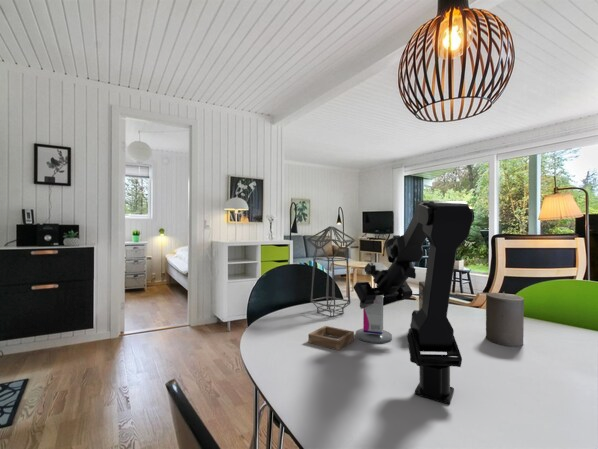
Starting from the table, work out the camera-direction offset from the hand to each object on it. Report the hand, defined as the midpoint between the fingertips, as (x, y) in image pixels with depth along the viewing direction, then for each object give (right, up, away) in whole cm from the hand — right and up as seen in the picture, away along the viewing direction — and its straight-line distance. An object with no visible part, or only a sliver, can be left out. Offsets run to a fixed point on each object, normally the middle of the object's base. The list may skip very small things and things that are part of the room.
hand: (371, 306), depth 97 cm
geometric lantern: (-10, -10, +26) cm, 30 cm away
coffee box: (+20, -10, +3) cm, 23 cm away
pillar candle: (+40, -10, -4) cm, 41 cm away
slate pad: (+1, -9, -1) cm, 9 cm away
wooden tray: (-13, -9, -5) cm, 17 cm away
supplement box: (0, -7, -1) cm, 8 cm away
